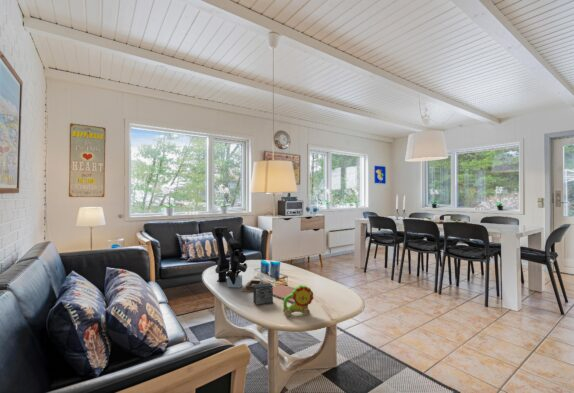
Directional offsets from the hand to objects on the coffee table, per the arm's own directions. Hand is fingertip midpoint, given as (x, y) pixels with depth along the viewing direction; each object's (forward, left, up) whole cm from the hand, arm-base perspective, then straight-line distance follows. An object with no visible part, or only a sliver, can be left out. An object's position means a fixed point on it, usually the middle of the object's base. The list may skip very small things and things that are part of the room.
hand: (234, 283), depth 198 cm
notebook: (+11, +38, -3) cm, 40 cm away
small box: (+26, +25, -2) cm, 36 cm away
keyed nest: (+1, +14, -2) cm, 14 cm away
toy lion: (+40, +47, -2) cm, 61 cm away
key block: (0, 0, -2) cm, 2 cm away
